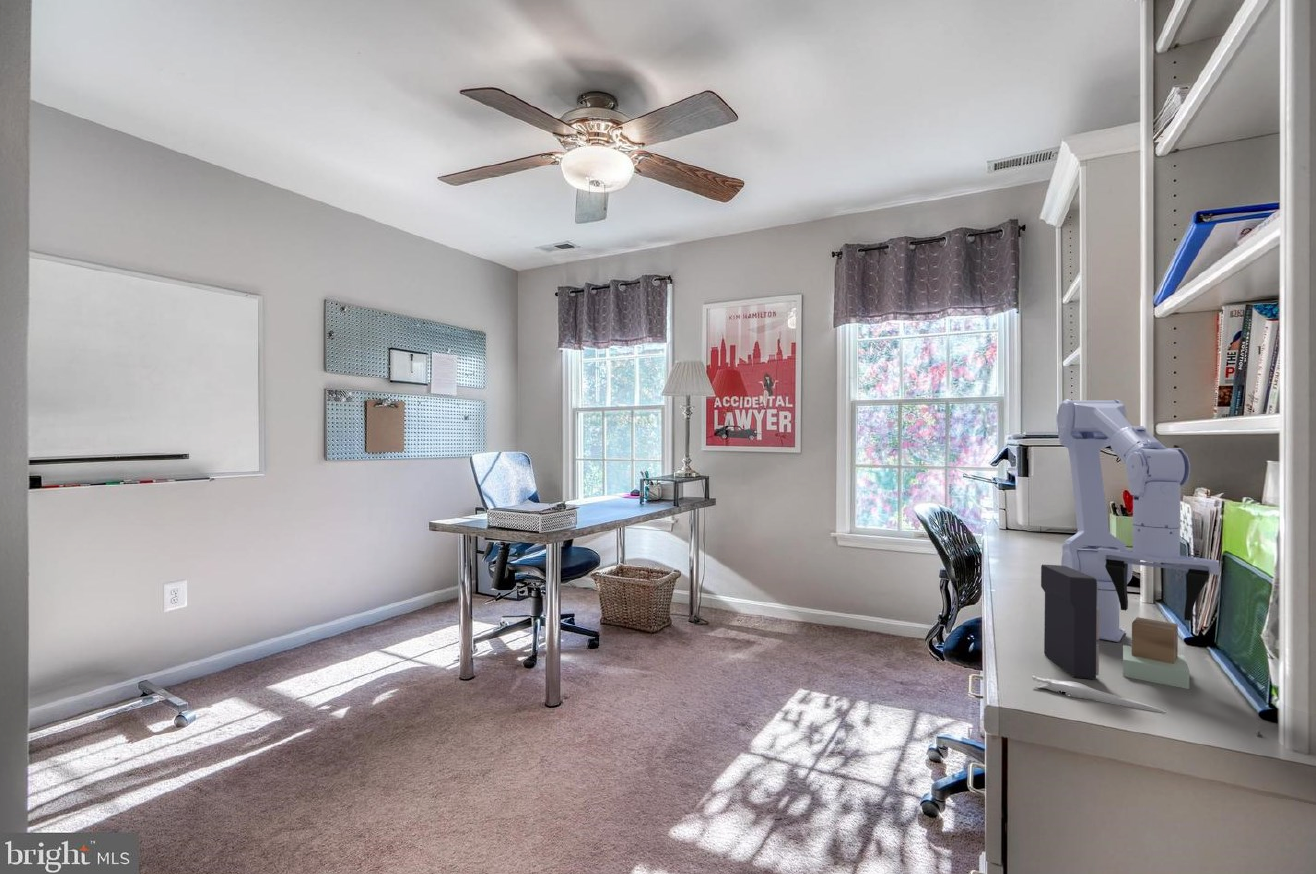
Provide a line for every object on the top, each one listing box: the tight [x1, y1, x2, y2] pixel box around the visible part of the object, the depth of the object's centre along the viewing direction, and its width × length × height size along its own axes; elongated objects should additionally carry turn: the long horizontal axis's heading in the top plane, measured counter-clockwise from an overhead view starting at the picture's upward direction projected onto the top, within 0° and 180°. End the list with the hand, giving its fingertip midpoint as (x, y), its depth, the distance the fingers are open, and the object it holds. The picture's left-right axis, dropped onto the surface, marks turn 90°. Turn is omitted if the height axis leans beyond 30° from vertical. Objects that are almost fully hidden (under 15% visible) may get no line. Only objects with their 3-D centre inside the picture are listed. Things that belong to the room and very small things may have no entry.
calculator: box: [1040, 564, 1100, 680], centre depth 97 cm, size 11×4×15 cm, turn 168°
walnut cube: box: [1131, 616, 1179, 664], centre depth 95 cm, size 5×5×5 cm
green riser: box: [1122, 644, 1190, 690], centre depth 95 cm, size 9×8×3 cm
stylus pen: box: [1031, 675, 1167, 714], centre depth 84 cm, size 15×3×2 cm, turn 56°
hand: (1155, 614), depth 95 cm, fingers open, 7 cm apart
